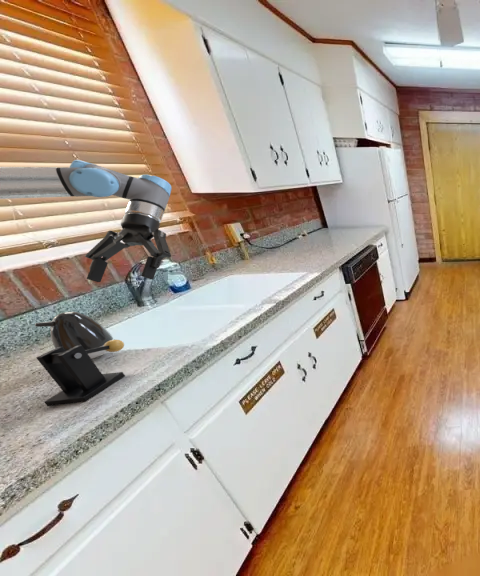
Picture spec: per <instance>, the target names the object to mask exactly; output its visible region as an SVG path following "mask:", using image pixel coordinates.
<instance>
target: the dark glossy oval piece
mask: <svg viewBox="0 0 480 576" xmlns="http://www.w3.org/2000/svg"><path fill="white" fill-rule="evenodd" d="M34 326H35V328H36V327H37V328H39V327H50V338H51V342H52V344H53V346H54V349H55V348H57V347H63V348H64V350H65V351H67V350H69V349H71V348H73V347H75V346H79V345H82V347H83V348H84V350H88V349H93V348H97V347H102V346H104V344H105V343H106V342H108V341H110V340H114V337H113V335H112V334H111V333H110V332H109V331H108V330H107V329H106V328H105V327H104V326H103V325H101V324H100V323H99V322H97V321H96V320H95V319H93V318H91V317H89V316H87V315H85V314H82V313H80V312H77V311H65V312H61V313H59V314H56V315H55V316H54V317H53V318H52V320H50V321H42V322H35V323H34ZM107 353H109V352H108V351H106V350H102V351H98V352H94V353H89V354H88V355H89V357H90V358H91V359H92V360H93V359H95V358H98V357H101V356H103V355H105V354H107Z"/></svg>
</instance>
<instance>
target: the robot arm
mask: <svg viewBox="0 0 480 576" xmlns="http://www.w3.org/2000/svg"><path fill="white" fill-rule="evenodd" d="M171 192H172V185H171V184H170V182H168V181H167V180H165V179H164V178H161V177H159V176H157V175H150V174H141V175H139V177H135V176H131V175H128V174H124V173H121V172H118V171H116V170H112V169H110V168H106V167H104V166H101V165H98V164H95V163H91V162H87V161H84V160H80V159H74V160H73V161H72V162H71V163H70V165H69V167H68V166H67V167H57V166H51V167H50V166H49V167H48V166H47V167H46V166H0V200H5V199H36V198H37V199H39V198H66V197H67V198H68V197H72V198H73V197H94V198H105V197H111V196H114V197H119V198H121V199H125V200H129V201H128V204H127V206H126V209H125V211H124V215H123V217H122V218H121V221H120V227H121V230H120V231H119V232H117V231H116V232H115V231H113V230H108V231H107V233H106V234H105V236H103V238H102V239H100V241H98V243H96V245H94V246H93V247H92V248H91V249H90V250H89V251H88V252H87V253H86V254H85V255H84V257H85V258H87V259H89V260H92V261H91V262H90V265H89V268H88V269H89V272H88V275H87V277H86V280H89V281H92V282H96V283H101V282H102V279H103V277H104V274H105V272H106V269H107V267H108V264H109V262H108V260H110V259H111V258H113V257H114V256H115V255H117V254H118V253H120V252H121V251H123V250H124V249H128V248H129V247H135V246H143V247H144V248H145V250H147V252H148V254H149V256H147V258H146V261H145V264H144V267H143V270H142V274H141V276H140V277H143V278H146V279H149V280H154V279H155V276H156V273H157V269H159V268H160V266H161V264H162V260H164V259H165V258H168V259H169V258H171V257H172V254H171V251H170V248H169V245H168V242H167V233H166V232H164V231H163V230H161V229H160V226H161V222H162V219H163V217H164V213H165V211H166V208H167V205H168V203H169V200H170V197H171ZM152 239H154V242H155V243H154V242H153V240H152ZM155 245H156V246H155Z"/></svg>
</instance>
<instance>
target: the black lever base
mask: <svg viewBox="0 0 480 576" xmlns="http://www.w3.org/2000/svg"><path fill="white" fill-rule="evenodd" d="M64 351H65V350H64V348H63V347H57V348H55V347H54V348H52V349H51V350H49V351H47V352H44V353H43V354H40V355H39V356H37V357H36V360H37V361H38V362H39V363H40V365H41V366H42V367H43V368H44V370H45V371H46V372H47V373H48V374H49V377H51V378H52V379H53V380H54V382H55V383H56V384H57V386H58V387H59V388H60V389H61V391H60V392H58V393H56V394H54V395H53V396H51V397H49V398H48V399H46V400H44V401H43V403H44V404H45V405H46V406H47V407H53V406H54V407H55V406H63V405H64V406H65V405H71V404H80V403H86V402H88V401H89V400H91V399H93V398H94V397H96V396H97V395H99V394H100V393H102V392H103V391H105V390H106V389H108V388H109V387H111V386H113V385H114V384H116V383H118V381H120V380H122V379H123V378H124V377H126V375H125V373H124V372H123V371H118V372H117V371H116V372H109V373H108V372H107V373H102V372H101V371H100V369H99V368H98V366H97V365H96V363H95V362H94V360H93V358H92V359H91V358H90V357H89V355H88V354H87V352H86V351H85V350H84V348H83V347H82V345H79V346H75V347H73V348H71V349H69V350H67V351H65V352H64ZM60 352H63V353H61V354H59V355H57V357H58V358H59V360H60V361H61V362H62V363H55V364H52V361H51V356H50V355H51V354H55V353H60Z"/></svg>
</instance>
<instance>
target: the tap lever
mask: <svg viewBox="0 0 480 576" xmlns="http://www.w3.org/2000/svg"><path fill="white" fill-rule="evenodd" d="M124 347H125V343H124V341H122V340H120V339H113V340H110V341H108V342H106V343H105V344H104V346H102V347H97V348H93V349H88V350H85V351H86V352H87V354H89V353H94V352H98V351H102V350H106V351H108V352H107V353H117V352H119V351H121V350H123V349H124ZM64 352H65V351H64ZM61 353H63V352H60V353H55V354H51V355H50V356H51V361H52V364H55V363H62V362H61V361H60V360H59V358H58V357H57V355H59V354H61Z"/></svg>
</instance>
